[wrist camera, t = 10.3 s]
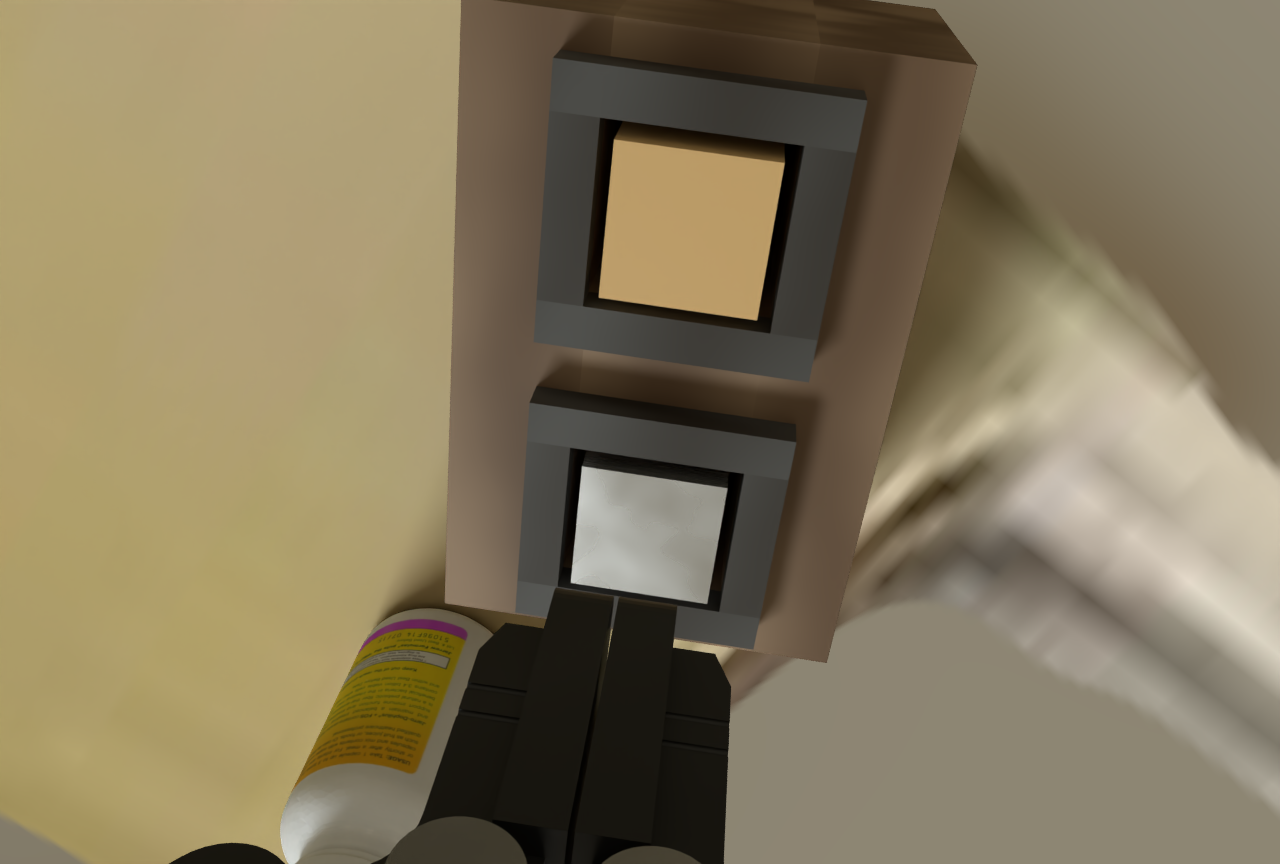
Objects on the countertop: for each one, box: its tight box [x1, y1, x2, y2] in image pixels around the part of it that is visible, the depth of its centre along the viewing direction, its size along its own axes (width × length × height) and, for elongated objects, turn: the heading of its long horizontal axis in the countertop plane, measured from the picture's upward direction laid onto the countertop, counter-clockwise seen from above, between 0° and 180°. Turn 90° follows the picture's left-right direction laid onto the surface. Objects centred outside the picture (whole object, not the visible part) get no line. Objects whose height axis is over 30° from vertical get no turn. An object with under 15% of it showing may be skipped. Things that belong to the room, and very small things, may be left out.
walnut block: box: [445, 0, 977, 663], centre depth 33 cm, size 12×18×9 cm, turn 174°
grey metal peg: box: [571, 450, 729, 604], centre depth 35 cm, size 4×4×8 cm
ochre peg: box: [599, 121, 785, 320], centre depth 30 cm, size 4×4×8 cm
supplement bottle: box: [280, 608, 493, 864], centre depth 41 cm, size 7×7×13 cm
